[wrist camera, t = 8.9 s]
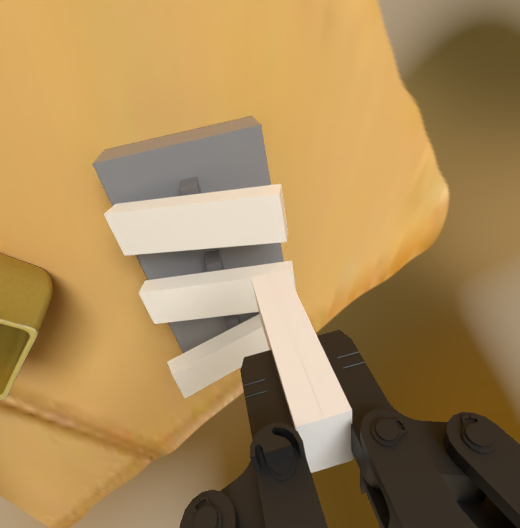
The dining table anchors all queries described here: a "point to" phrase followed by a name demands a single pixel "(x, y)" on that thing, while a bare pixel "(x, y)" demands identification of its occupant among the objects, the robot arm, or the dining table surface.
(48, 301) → the flower pot
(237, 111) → the dining table surface
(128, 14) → the dining table surface
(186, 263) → the switch panel
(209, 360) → the bar
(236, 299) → the bar
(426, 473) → the robot arm
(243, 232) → the bar
